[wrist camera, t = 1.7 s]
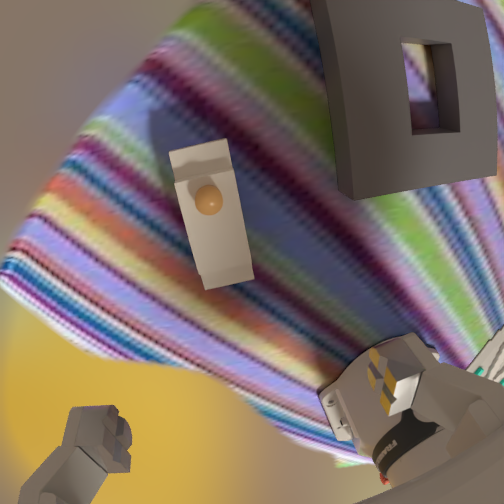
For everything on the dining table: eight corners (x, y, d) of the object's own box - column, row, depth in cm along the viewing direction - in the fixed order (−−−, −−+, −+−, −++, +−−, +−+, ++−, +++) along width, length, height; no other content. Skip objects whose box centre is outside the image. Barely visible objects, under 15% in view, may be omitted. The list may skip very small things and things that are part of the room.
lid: (427, 408, 49) (430, 414, 48) (520, 288, 40) (526, 293, 39) (481, 408, 58) (484, 412, 57) (550, 320, 49) (554, 323, 48)
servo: (247, 256, 29) (258, 292, 24) (203, 266, 29) (205, 304, 24) (222, 134, 24) (229, 142, 19) (173, 145, 24) (165, 156, 19)
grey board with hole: (477, 167, 29) (496, 175, 26) (338, 190, 28) (353, 200, 25) (462, 11, 21) (482, 8, 18) (307, -9, 20) (320, -20, 17)
